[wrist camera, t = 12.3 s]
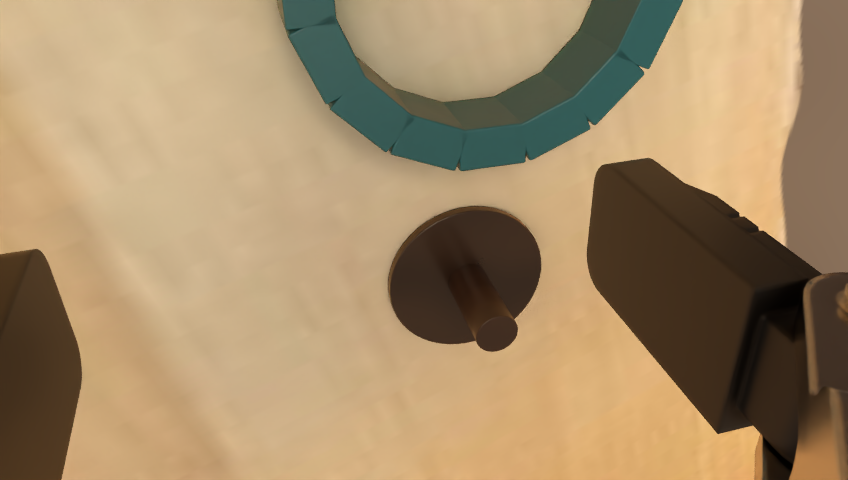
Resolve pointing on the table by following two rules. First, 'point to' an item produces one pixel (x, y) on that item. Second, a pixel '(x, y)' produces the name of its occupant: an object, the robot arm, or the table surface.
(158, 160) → the table surface
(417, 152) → the ring
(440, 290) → the peg stand
